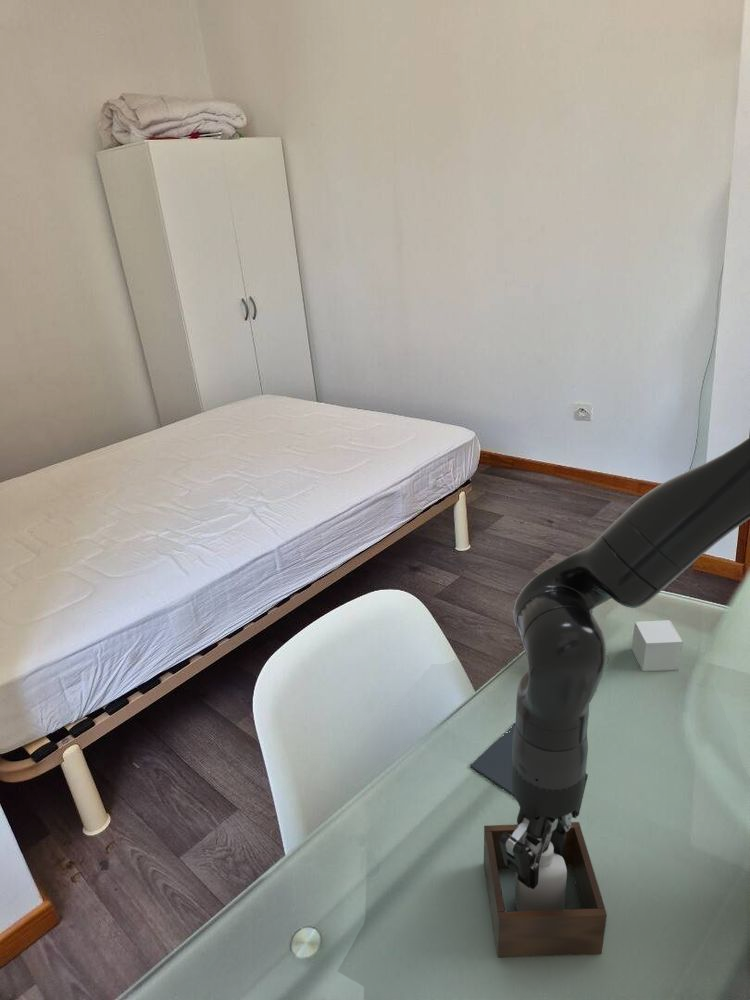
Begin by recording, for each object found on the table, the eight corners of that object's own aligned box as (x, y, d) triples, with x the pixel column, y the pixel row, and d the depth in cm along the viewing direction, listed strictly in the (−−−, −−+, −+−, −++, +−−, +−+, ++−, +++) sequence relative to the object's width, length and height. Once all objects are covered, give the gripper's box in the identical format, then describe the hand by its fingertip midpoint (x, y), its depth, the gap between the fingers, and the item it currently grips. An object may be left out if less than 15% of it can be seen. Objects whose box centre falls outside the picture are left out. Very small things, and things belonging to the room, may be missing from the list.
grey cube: (642, 671, 117) (646, 643, 115) (631, 649, 123) (634, 621, 120) (678, 669, 117) (683, 641, 114) (665, 647, 122) (669, 620, 120)
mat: (586, 762, 101) (586, 760, 101) (540, 813, 93) (540, 811, 93) (517, 722, 109) (517, 720, 108) (470, 767, 101) (470, 765, 101)
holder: (575, 859, 87) (579, 821, 84) (601, 954, 77) (607, 915, 74) (483, 862, 87) (483, 825, 84) (497, 957, 77) (498, 918, 74)
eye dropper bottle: (521, 880, 85) (524, 813, 80) (567, 899, 82) (573, 832, 77) (510, 911, 82) (512, 844, 76) (557, 932, 79) (563, 864, 74)
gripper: (541, 823, 64) (534, 934, 72) (616, 737, 73) (603, 844, 81) (477, 779, 69) (477, 888, 77) (555, 703, 78) (547, 807, 86)
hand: (541, 864), depth 79 cm, fingers closed on eye dropper bottle, 5 cm apart
